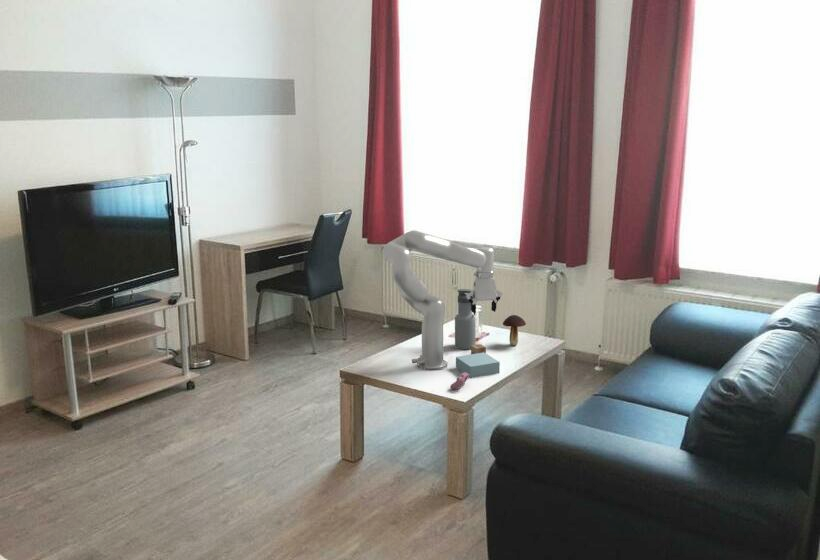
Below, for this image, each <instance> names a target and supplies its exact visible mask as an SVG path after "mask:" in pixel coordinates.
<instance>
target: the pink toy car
mask: <svg viewBox="0 0 820 560" xmlns="http://www.w3.org/2000/svg"><path fill="white" fill-rule="evenodd" d="M469 378H470V377H469V374H468V373H465V372H464V373H463V372H461V373H460V375H459V376H458V377H457V378H456V381H454V382H453V383H451V384H450V390H453V391H455V390H458V389H461V388H462V387H463V386H464V385H466V381H468V379H469Z"/></svg>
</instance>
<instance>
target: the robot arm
mask: <svg viewBox="0 0 820 560" xmlns="http://www.w3.org/2000/svg"><path fill="white" fill-rule="evenodd" d="M412 251H415V252H417V253H420V254H422V255H423V254H424V255H427V256H431V257H434V258H438V259H441V260H445V261H449V262H453V263H458V264H461V265H464V266H468V267H472V268H475V269H476V271H475V272H473V276H474V281H473V287H472V290H473V291H472V292H470V293H466V294H467V295H466V297H467V299H468V301H469V302H470V303H471V311H472V314H474V313H476V312H477V305H475V303H476V304H477V302H481V301H482V302H483V301H484V302H486V301H491V311H493V312H495V313H496V310H497V304H498V302H499V301H500V299H501V297H502V296H503V292H501V291H499V290H497V282H496V278H495V277H494V262H495V261H494V259H495V255H494V254H495V250H494V248H492V247H488V246H483V247H482V246H481V247H468V246H464V245H462V244H458V243H456V242H454V241H453V240H449V239H445V238H441V237H440V236H439V237H438V236H435V235H432V234H428V233H426V232H422V231H418V230H414V229H413V230H409V231H407V232H406V233H404V234H401V235H400V236H398V237H396V238H394V239H393V240H391V241H389V242H388V243H386V244H385V245H384V246H383V248H382V251H381V254H382V257H383V259H384V260H385V261H386V262H388V263H391V264H392V265H391V273H390V274H391V278H392V281H393V282H394V283H395V284H396V285H397V290H398V294H399V295H400V296H401V298H403V299H404V300H405V302H406V303H407V304H408V305H409V306H410V307H411V308H413V309H414V311H416V312H417V313H419V314H421V315H423V319H422V323H421V354H420V355H419V357H418V358H411V364H417V365H418V367H419V368H422V369H424V370H428V369H429V370H431V371H436V370H441V369H444V368H446V367H447V366H448V362H447V361H446V360H445V359H444V320H445V314H446V306H445V303H444V302H443V300H442V299H440V297H437V296H436V295H433V294H430V293H429V291H428V288H427V286H426V284H425V283H424V282H423V281H421V280H420V278H419V277H418V276H416V275H415V274H414V272H413V271H412V269H411V266H410V265H411V261H412V254H411V252H412ZM470 296H473V299H472V300H471V298H470ZM429 370H428V371H429Z"/></svg>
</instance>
